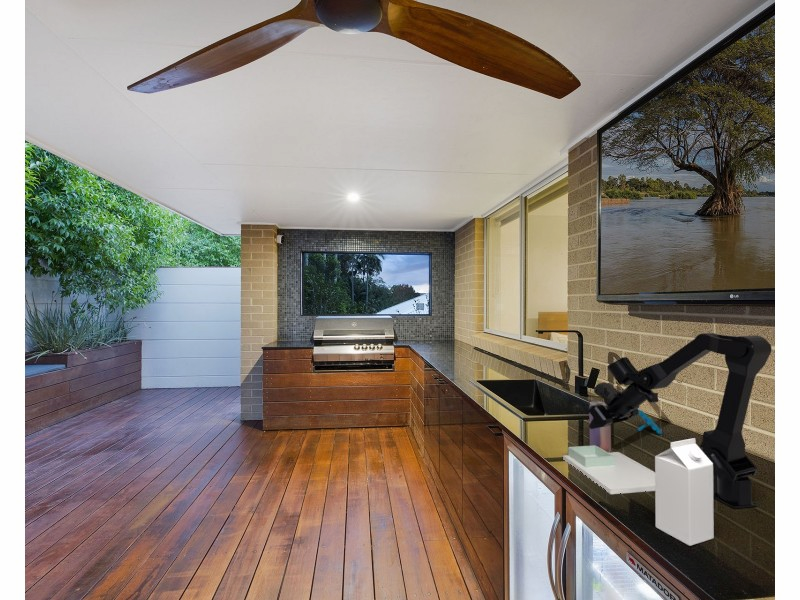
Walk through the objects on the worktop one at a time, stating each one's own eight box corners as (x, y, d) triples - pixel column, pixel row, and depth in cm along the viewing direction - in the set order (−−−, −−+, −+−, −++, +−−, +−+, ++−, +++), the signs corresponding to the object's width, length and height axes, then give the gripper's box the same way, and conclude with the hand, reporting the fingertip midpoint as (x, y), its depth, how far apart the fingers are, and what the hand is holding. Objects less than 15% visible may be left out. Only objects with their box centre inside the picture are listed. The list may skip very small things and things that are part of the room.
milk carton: (655, 527, 86) (654, 437, 86) (678, 521, 88) (678, 433, 88) (689, 546, 79) (688, 448, 79) (714, 539, 82) (713, 443, 82)
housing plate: (676, 489, 103) (676, 474, 103) (610, 494, 100) (610, 479, 100) (618, 455, 125) (618, 443, 125) (563, 459, 122) (563, 447, 122)
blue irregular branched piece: (663, 433, 139) (639, 409, 144) (648, 444, 141) (625, 419, 146) (665, 429, 148) (642, 407, 153) (651, 439, 150) (629, 416, 155)
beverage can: (589, 452, 127) (588, 404, 127) (590, 446, 133) (589, 400, 133) (610, 455, 125) (610, 406, 125) (611, 449, 130) (610, 402, 130)
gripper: (628, 372, 130) (595, 400, 140) (594, 379, 120) (561, 408, 130) (654, 402, 124) (619, 429, 133) (621, 412, 114) (584, 440, 123)
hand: (595, 425), depth 130 cm, fingers open, 6 cm apart
